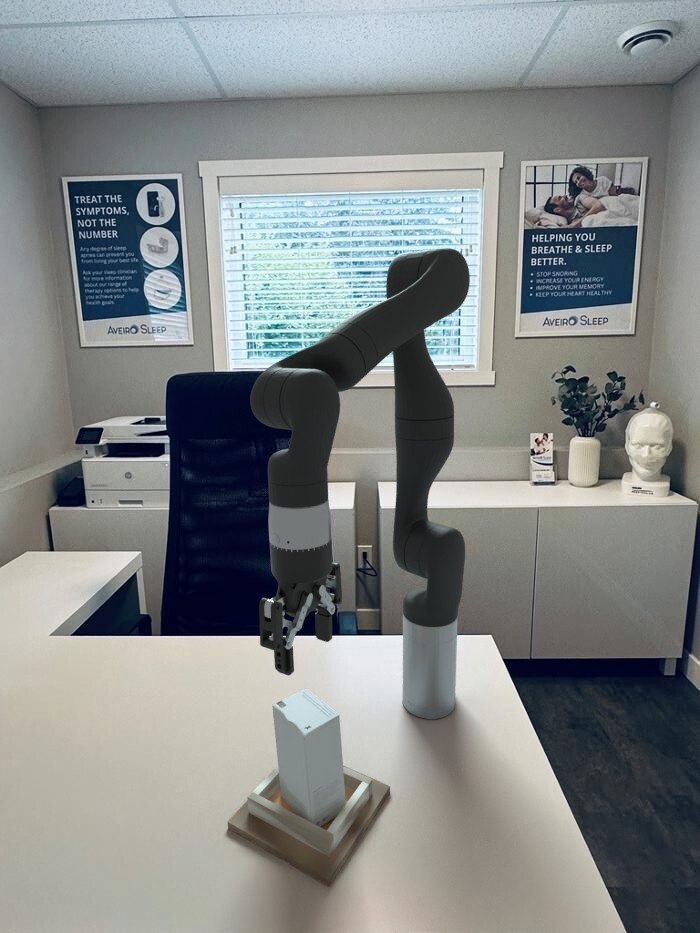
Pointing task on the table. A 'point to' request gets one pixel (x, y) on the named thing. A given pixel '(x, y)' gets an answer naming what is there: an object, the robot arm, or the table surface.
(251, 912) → the table surface
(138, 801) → the table surface
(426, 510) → the robot arm
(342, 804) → the skincare box
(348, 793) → the holder board
